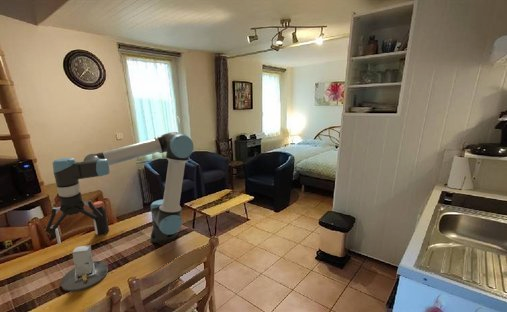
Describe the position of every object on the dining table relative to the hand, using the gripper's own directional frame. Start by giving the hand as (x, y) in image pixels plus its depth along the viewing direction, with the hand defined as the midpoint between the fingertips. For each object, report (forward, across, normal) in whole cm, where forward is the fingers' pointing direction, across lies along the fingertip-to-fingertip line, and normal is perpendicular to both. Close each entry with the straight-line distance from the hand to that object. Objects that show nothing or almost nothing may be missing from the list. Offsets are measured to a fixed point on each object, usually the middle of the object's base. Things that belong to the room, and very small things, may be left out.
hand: (78, 238), depth 106 cm
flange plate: (+20, 0, 0) cm, 20 cm away
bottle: (+20, -9, -41) cm, 47 cm away
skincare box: (+18, 0, 0) cm, 18 cm away
